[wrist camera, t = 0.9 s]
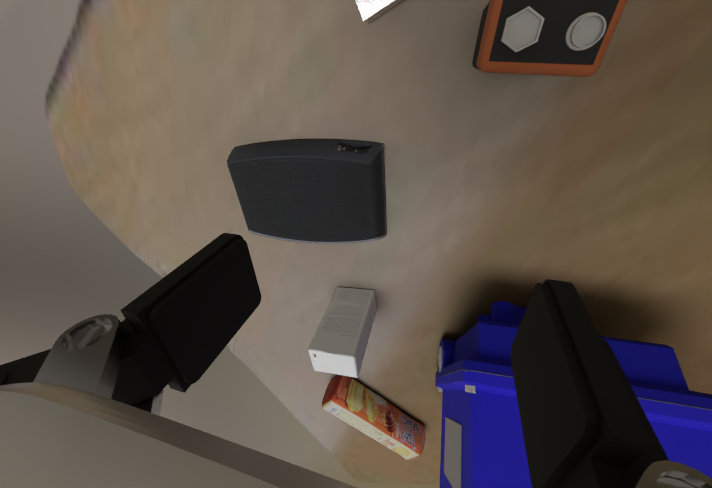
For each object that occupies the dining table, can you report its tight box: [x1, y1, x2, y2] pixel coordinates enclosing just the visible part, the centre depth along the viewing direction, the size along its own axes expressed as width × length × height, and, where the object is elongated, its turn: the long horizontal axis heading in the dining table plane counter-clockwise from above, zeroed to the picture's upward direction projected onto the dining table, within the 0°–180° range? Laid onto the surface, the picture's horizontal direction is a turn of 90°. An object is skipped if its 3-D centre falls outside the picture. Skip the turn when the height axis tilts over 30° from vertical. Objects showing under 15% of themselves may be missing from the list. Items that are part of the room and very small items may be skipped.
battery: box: [472, 0, 627, 77], centre depth 20 cm, size 4×7×10 cm, turn 89°
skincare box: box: [308, 287, 376, 378], centre depth 40 cm, size 6×4×12 cm
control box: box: [436, 301, 712, 488], centre depth 30 cm, size 26×27×30 cm
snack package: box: [322, 375, 425, 460], centre depth 56 cm, size 21×7×7 cm, turn 56°
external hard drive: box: [227, 139, 387, 244], centre depth 36 cm, size 13×19×4 cm
